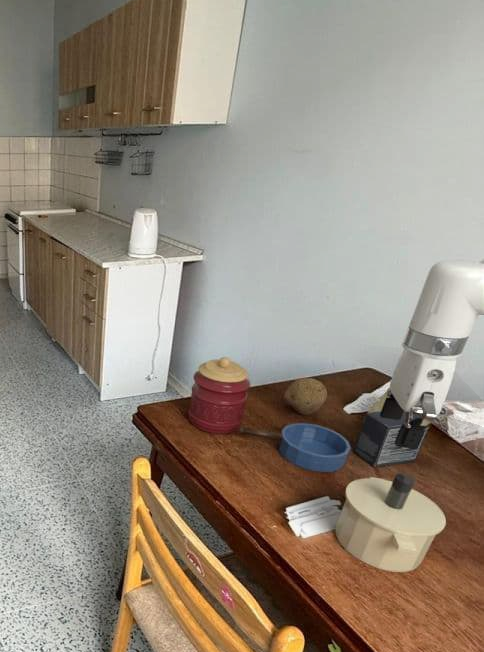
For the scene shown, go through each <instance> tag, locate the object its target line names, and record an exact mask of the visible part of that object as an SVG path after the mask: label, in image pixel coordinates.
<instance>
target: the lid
mask: <svg viewBox="0 0 484 652" xmlns="http://www.w3.org/2000/svg"><path fill="white" fill-rule="evenodd" d="M382 479H383V478H381V479H373V478H370V477H368V478H367V477H365V478H357V479H355V480H353V481H351V482H350V483H348V484H347V486H346V488H345V491H344V496H345V500H346V499H347V501H348V503H349V504H350V506H351V507H352V508H353V509H354V510H355V511H356V512H357V513H358V514H359V515H361V516H362V517H364V518H365V519H366V520H368V521H370V522H371V523H373V524H375V525H377V526H379V527H382V528H384V529H386V530H389V531H392V532H395V533H398V534H403V535H407V536H414V537H429V536H434V535H435V536H436V535H439V534H440V533H441V532H443V530H444V529H445V527H446V525H447V519H446V516H445V514H444V512H443V510H441V508H440V507H439V506H438V505H437V504H436V503H435V502H434V501H433V500H432V499H430V498H429V497H427V496H425V495H424V494H422V493H421V492H419V491H417V490H415V489H413V487H414V485H415V484H416V480H415V478H414V477H413V476H411V475H409V474H406V473H400V472H398V473H396V474H395V475H394V478H393V480H387V479H385V480H382Z"/></svg>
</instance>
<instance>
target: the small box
mask: <svg viewBox="0 0 484 652" xmlns="http://www.w3.org/2000/svg"><path fill="white" fill-rule="evenodd" d="M380 413H381V411H379V412H371V413H368V412H366V414H365V417H364V419H365V420H364V419H363V423H362V426H361V429H360V431H359V435H358V437H357V440H356V443H355V445H354V448H353V452H352V453H355V454H356V455H357V456H358V457H360V458H361V459H362V460H364V461H365V462H366V463H368V464H369V465H370V466H372V467H373V468H378V467H384V466H394V465H401V464H405V463H406V464H407V463H413V462H414V463H415V462H416V460H417V458H418V455H419V453H420V450H421V448H422V446H423V444H424V441H425V438H426V436H427V434H428V431H429V429H430V427H428V430H427V431H425V433H424V436H423V438H422V440H421V442H420V445H419V447H418V448H417V449H411V448H404V447H398V446H396V445H395V440H396V438H397V435H398V433H399V430H400V428H401V426H402V424H403V425H405V419H406V412H405V411H404V412H403V415H402V417H401V419H400V420H395V419H388V418H382V417H381V416H380ZM420 416H421V415H418V414H413V418H412V420H414V419H416V418H420Z"/></svg>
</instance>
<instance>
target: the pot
mask: <svg viewBox="0 0 484 652" xmlns="http://www.w3.org/2000/svg"><path fill="white" fill-rule="evenodd" d="M369 478H373V479H382V480H386V479H385V478H380V477H374V476H369ZM334 531H335V537H336V539H337V541H338V543H339V544H340V545H341V546H342V547H343V548H344V550H345V551H346V552H347V553H349V554H350V555H352V556H353V557H355V558H356V559H357V560H359V561H361V562H363V563H364V564H367V565H368V566H371V567H373V568H376V569H378V570H379V569H380V570H383V571H385V572H386V571H387V572H393V573H407V572H411V571H414V570H416V569H417V568H418V567H419V566H420V565H421V564H422V563H423V560H424V558H425V556H426V554H427V552H428V550H429V548H430V547H431V544H432V543H433V541H434V539H435V538H436V535H434V536H429V537H414V536H407V535H403V534H398V533H395V532H392V531H389V530H386V529H384V528H382V527H379V526H377V525H375V524H373V523H371V522H370V521H368V520H366V519H365V518H364V517H362V516H361V515H359V514H358V513H357V512H356V511H355V510H354V509H353V508H352V507H351V506H350V504H349V503H348V501H347V499H346V498H345V501H344V504H343V507H342V508H341V511H340V514H339V517H338V519H337V522H336V525H335V530H334Z"/></svg>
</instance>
